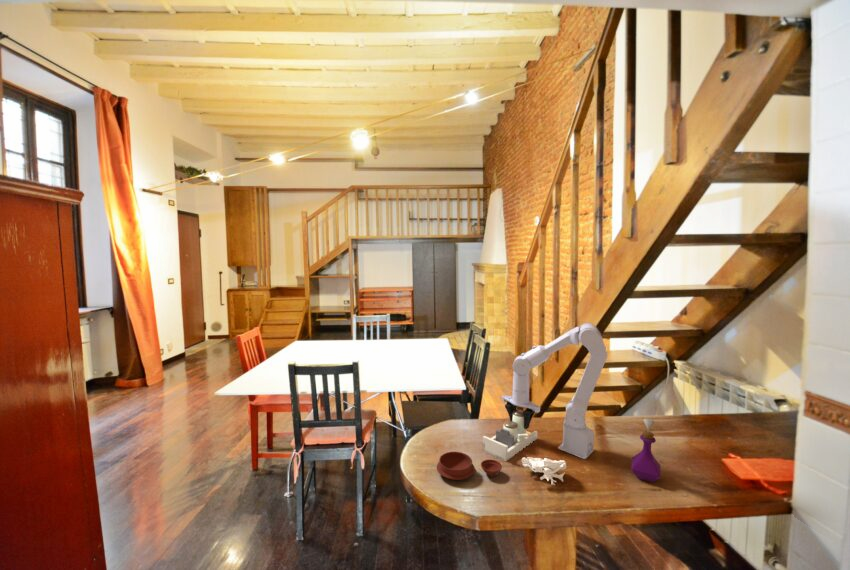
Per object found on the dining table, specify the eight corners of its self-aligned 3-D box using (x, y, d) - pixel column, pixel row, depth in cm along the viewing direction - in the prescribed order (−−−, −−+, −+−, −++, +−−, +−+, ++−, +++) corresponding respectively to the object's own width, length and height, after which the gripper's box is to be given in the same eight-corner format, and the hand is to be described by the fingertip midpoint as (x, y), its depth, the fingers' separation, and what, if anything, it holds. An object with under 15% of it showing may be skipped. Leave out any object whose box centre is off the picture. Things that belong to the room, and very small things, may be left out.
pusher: (513, 448, 125) (514, 432, 124) (512, 450, 124) (512, 433, 124) (497, 441, 130) (497, 426, 129) (495, 442, 129) (496, 427, 128)
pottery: (436, 462, 119) (436, 449, 118) (498, 464, 118) (498, 451, 118) (436, 485, 107) (436, 471, 107) (505, 487, 107) (505, 472, 106)
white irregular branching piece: (575, 463, 108) (544, 464, 104) (574, 487, 107) (543, 490, 103) (546, 450, 119) (517, 451, 114) (544, 472, 118) (515, 474, 113)
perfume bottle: (659, 487, 106) (663, 428, 105) (630, 479, 110) (633, 421, 109) (659, 474, 113) (663, 418, 111) (631, 466, 117) (635, 412, 115)
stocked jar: (520, 442, 129) (520, 423, 129) (512, 448, 126) (513, 428, 125) (508, 437, 133) (508, 419, 132) (500, 442, 129) (500, 423, 129)
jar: (522, 435, 130) (522, 416, 129) (509, 431, 133) (510, 412, 133) (528, 430, 134) (529, 411, 133) (516, 426, 137) (516, 408, 136)
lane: (537, 438, 134) (537, 425, 134) (505, 461, 119) (506, 447, 119) (515, 430, 140) (515, 417, 140) (482, 450, 126) (482, 436, 125)
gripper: (544, 392, 130) (543, 428, 131) (509, 381, 140) (508, 415, 141) (535, 397, 125) (533, 435, 126) (499, 386, 135) (498, 421, 136)
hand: (519, 425), depth 133 cm, fingers closed on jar, 5 cm apart
